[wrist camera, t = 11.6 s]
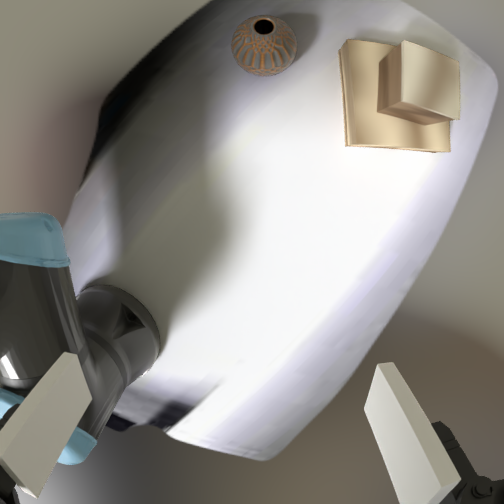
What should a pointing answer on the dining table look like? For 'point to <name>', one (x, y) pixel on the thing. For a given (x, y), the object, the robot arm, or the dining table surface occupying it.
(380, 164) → the dining table surface
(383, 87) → the pale wooden block
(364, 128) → the beech base
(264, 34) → the vase
